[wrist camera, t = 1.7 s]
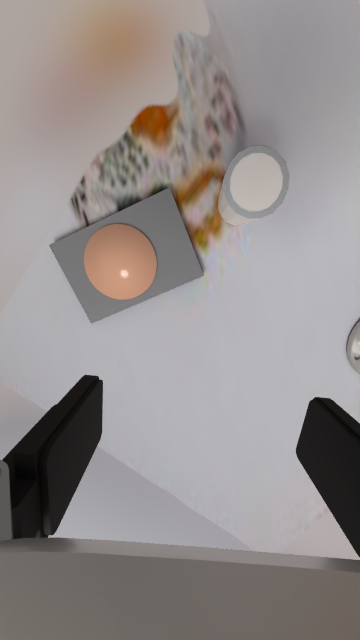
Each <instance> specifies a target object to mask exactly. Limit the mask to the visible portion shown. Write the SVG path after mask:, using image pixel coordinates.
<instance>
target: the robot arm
mask: <svg viewBox="0 0 360 640" xmlns="http://www.w3.org/2000/svg"><path fill="white" fill-rule="evenodd" d="M347 355H348V359H349V362H350V364H351V366H352V367H353V368H354V369H355V370H356V371H357V372H358V373H359V374H360V321H359V322H358V323H357V324H356V326H355V327H354V329H353V330H352V332H351V334H350V337H349V340H348V344H347ZM102 402H103V381H102V380H99V377H98V376H91V375H84V376H83V377H82V378H81V379H80V380H79V381H78V382H77V383H76V384H75V386H74V387H73V388H72V389H71V390H70V391H69V392H68V393H67V394H66V395H65V396H64V397H63V398H62V400H61V401H60V402H59V403H58V404H56V405H54V406H53V407H52V408H51V409H50V410H49V411H48V412H47V413H46V414H45V415H44V416H43V417H42V418H41V419H40V420H39V422H38V423H37V424H36V425H35V426H34V427H33V428H32V429H31V430H30V431H29V432H28V433H27V434H26V435H25V436H24V437H23V438H22V440H21V441H20V442H19V443H18V444H17V445H16V446H15V447H14V448H13V449H12V450H11V451H10V452H9V453H8V454H7V456H6V457H5V458H4V459H3V460H0V640H360V560H351V559H340V558H339V559H338V558H328V557H317V556H304V555H293V554H281V553H269V552H256V551H244V550H232V549H219V548H206V547H193V546H179V545H167V544H153V543H139V542H127V541H111V540H92V539H73V538H48V535H53V534H54V533H55V532H56V530H57V528H58V526H59V524H60V522H61V520H62V518H63V516H64V514H65V512H66V510H67V508H68V506H69V503H70V501H71V499H72V497H73V495H74V493H75V491H76V489H77V487H78V485H79V483H80V481H81V478H82V476H83V474H84V472H85V470H86V468H87V466H88V464H89V462H90V459H91V458H92V455H93V453H94V451H95V449H96V447H97V445H98V443H99V441H100V438H101V434H102ZM296 454H297V457H298V459H299V461H300V462H301V464H302V466H303V467H304V469H305V471H306V472H307V474H308V475H309V477H310V479H311V480H312V482H313V483H314V485H315V487H316V488H317V490H318V492H319V493H320V495H321V496H322V498H323V500H324V501H325V503H326V504H327V506H328V508H329V509H330V511H331V512H332V514H333V516H334V517H335V519H336V521H337V522H338V524H339V525H340V527H341V529H342V530H343V532H344V533H345V535H346V537H347V538H348V540H349V541H350V543H351V545H352V546H353V548H354V550H355V551H356V553H357V554H358V556H359V557H360V424H359V423H358V422H357V421H356V420H355V419H354V418H353V417H351V416H350V415H349V414H348V413H347V412H346V411H344V410H343V409H342V408H341V407H340V406H339V405H337V404H336V403H335V402H334V401H333V400H331V399H329V398H320V397H315V398H314V399H313V400H311V401H310V402H309V405H308V409H307V412H306V416H305V419H304V423H303V426H302V430H301V433H300V437H299V440H298V444H297V447H296Z"/></svg>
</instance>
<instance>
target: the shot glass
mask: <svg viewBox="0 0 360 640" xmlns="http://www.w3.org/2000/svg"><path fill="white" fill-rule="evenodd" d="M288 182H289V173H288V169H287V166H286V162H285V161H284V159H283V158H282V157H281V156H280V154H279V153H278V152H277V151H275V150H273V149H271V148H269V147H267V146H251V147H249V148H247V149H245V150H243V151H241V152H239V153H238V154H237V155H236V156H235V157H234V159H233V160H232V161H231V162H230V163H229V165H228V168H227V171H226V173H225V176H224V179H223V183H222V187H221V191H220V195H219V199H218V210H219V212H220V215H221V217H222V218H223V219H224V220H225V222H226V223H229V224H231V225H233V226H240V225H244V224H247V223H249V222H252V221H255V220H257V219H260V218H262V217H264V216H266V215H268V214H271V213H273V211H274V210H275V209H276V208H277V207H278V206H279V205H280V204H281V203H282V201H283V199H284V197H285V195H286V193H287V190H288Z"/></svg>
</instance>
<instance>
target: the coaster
mask: <svg viewBox="0 0 360 640" xmlns="http://www.w3.org/2000/svg"><path fill="white" fill-rule="evenodd" d="M84 266H85V271H86V274H87V276H88V278H89V280H90V281H91V283H92V284H93V286H94V287H95V288H96V289H97V290H99V291H100V292H101V293H103V294H104V295H106V296H108V297H111V298H114V299H121V300H124V299H131V298H134V297H137V296H139V295H141V294H142V293H144V292H145V291H146V290H147V289H148V288H149V287H150V285H151V284H152V282H153V280H154V278H155V275H156V270H157V258H156V254H155V251H154V248H153V246H152V244H151V243H150V241H149V240H148V239H147V237H146V236H145V235H144V234H142V233H141V232H140V231H138V230H137V229H135V228H133V227H131V226H128V225H123V224H112V225H108V226H105V227H103V228H101V229H99V230H98V231H97V232H95V233H94V234H93V235H92V237H91V238H90V239H89V241H88V243H87V245H86V248H85V252H84Z"/></svg>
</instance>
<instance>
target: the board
mask: <svg viewBox="0 0 360 640" xmlns="http://www.w3.org/2000/svg"><path fill="white" fill-rule="evenodd" d="M112 224H123V225H128V226H131V227H133V228H135V229H137V230H138V231H140V232H141V233H142V234H144V235H145V236H146V237H147V239H148V240H149V241H150V243H151V244H152V246H153V248H154V251H155V254H156V258H157V270H156V275H155V278H154V280H153V282H152V284H151V285H150V287H149V288H148V289H147V290H146V291H145V292H144V293H142V294H141V295H139V296H137V297H134V298H131V299H124V300H121V299H114V298H111V297H108V296H106V295H104V294H103V293H101V292H100V291H99V290H97V289H96V288H95V287H94V286H93V284H92V283H91V281H90V280H89V278H88V276H87V274H86V271H85V266H84V252H85V248H86V245H87V243H88V241H89V239H90V238H91V237H92V235H93V234H94V233H95V232H97V231H98V230H99V229H101V228H103V227H105V226H108V225H112ZM49 246H50V248H51V250H52V252H53V253H54V255H55V257H56V259H57V261H58V263H59V265H60V266H61V268H62V270H63V272H64V274H65V276H66V277H67V279H68V281H69V283H70V285H71V287H72V289H73V290H74V292H75V294H76V296H77V298H78V300H79V302H80V303H81V305H82V307H83V309H84V311H85V313H86V315H87V316H88V318H89V320H90V322H91V323H94V322H96V321H98V320H101V319H103V318H105V317H108V316H110V315H112V314H115V313H117V312H119V311H122V310H124V309H126V308H129V307H131V306H133V305H136V304H138V303H141V302H143V301H145V300H148V299H150V298H152V297H155V296H157V295H159V294H162V293H164V292H166V291H169V290H171V289H173V288H176V287H178V286H180V285H183V284H185V283H187V282H190V281H192V280H194V279H197V278H199V277H201V276H204V275H203V272H202V269H201V267H200V264H199V262H198V259H197V257H196V254H195V251H194V249H193V246H192V244H191V241H190V238H189V236H188V233H187V231H186V228H185V226H184V223H183V220H182V218H181V215H180V213H179V210H178V207H177V205H176V202H175V200H174V197H173V194H172V192H171V189H170V187H169V188H167V189H165V190H163V191H161V192H159V193H157V194H155V195H153V196H151V197H149V198H146V199H144V200H142V201H140V202H138V203H136V204H134V205H132V206H130V207H128V208H126V209H124V210H121V211H119V212H117V213H115V214H113V215H111V216H109V217H107V218H105V219H103V220H101V221H98V222H96V223H94V224H92V225H90V226H88V227H86V228H84V229H82V230H80V231H78V232H75V233H73V234H71V235H69V236H67V237H65V238H63V239H61V240H59V241H57V242H55V243H52V244H50V245H49Z"/></svg>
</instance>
